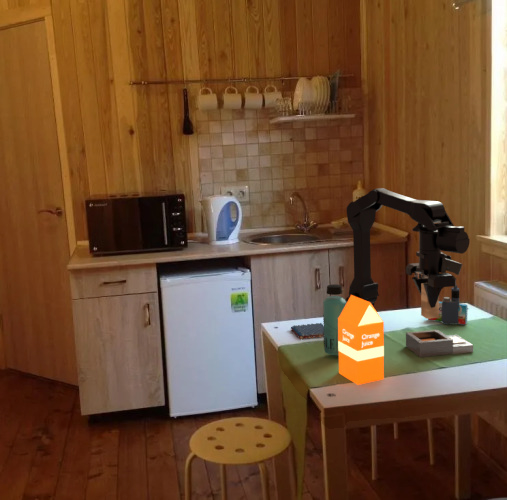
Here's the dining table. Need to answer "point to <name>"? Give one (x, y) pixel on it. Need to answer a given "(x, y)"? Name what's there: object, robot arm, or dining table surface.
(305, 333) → the woven mat
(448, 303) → the vaping device
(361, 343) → the orange juice
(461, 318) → the yogurt
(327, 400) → the dining table surface
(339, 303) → the beverage bottle
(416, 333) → the box
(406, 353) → the dining table surface
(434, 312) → the tan wooden block
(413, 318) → the dining table surface
